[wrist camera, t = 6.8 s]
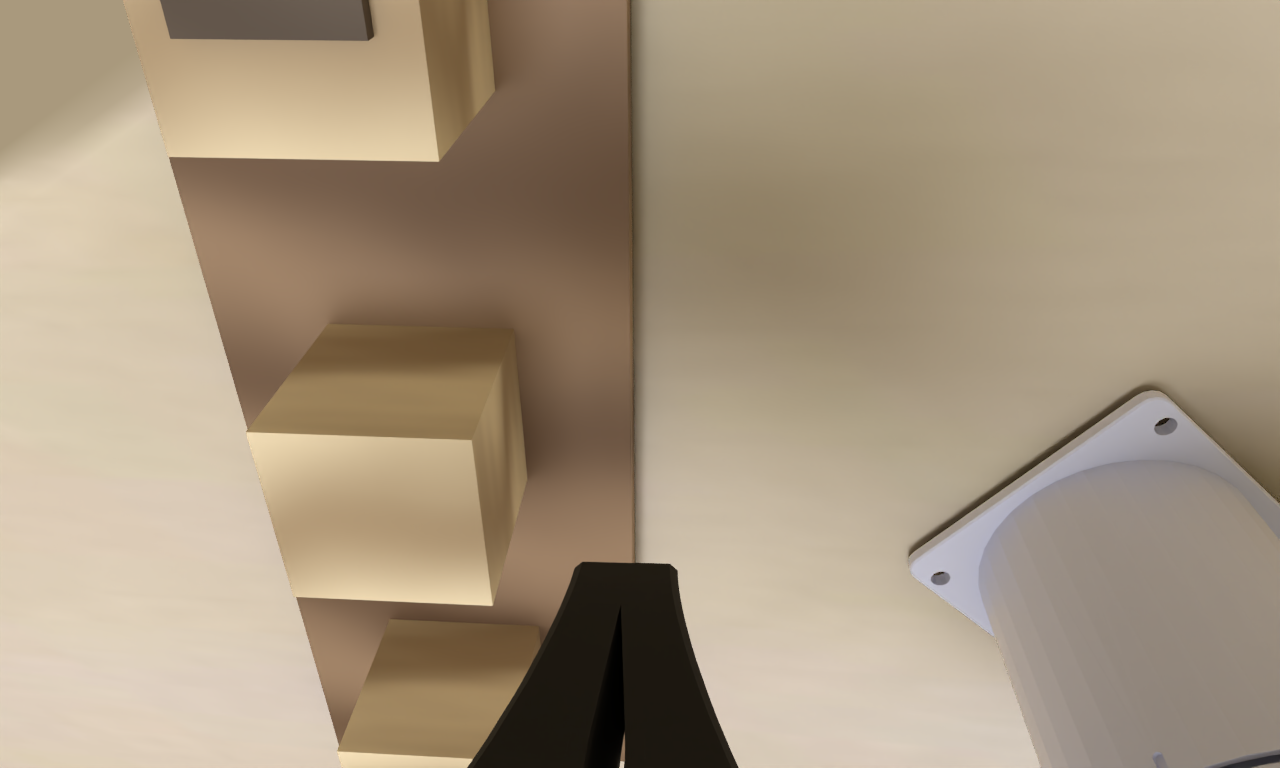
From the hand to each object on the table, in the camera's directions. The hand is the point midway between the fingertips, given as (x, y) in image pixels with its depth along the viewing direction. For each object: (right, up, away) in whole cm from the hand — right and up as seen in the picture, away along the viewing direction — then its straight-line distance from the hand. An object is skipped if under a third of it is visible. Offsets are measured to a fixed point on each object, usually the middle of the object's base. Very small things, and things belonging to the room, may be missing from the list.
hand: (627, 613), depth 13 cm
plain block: (-5, +3, +10) cm, 11 cm away
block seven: (-5, -6, +15) cm, 17 cm away
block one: (-5, +11, +4) cm, 13 cm away
